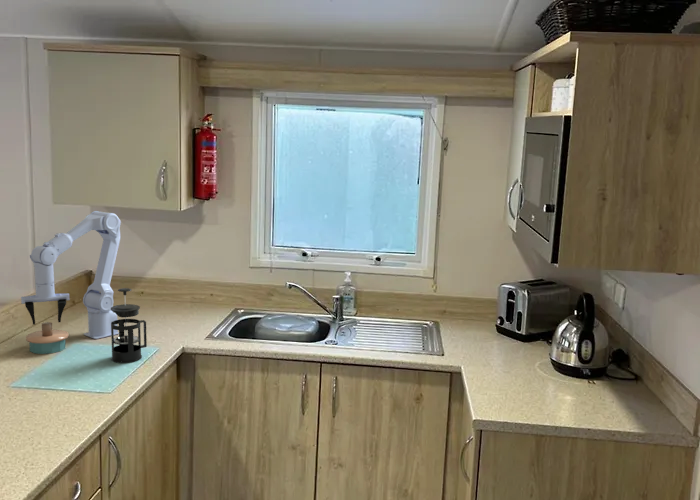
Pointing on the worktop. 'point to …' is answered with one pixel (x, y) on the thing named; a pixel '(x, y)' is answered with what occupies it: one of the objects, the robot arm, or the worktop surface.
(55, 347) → the bowl
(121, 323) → the french press
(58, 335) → the lid
